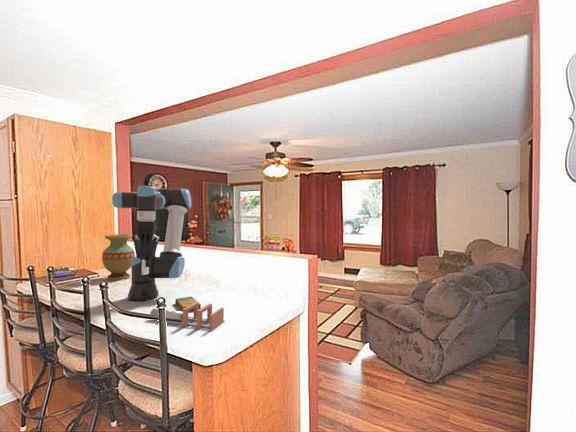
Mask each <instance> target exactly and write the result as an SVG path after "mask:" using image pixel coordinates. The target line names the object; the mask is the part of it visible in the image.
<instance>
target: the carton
mask: <svg viewBox="0 0 576 432" xmlns="http://www.w3.org/2000/svg"><path fill="white" fill-rule="evenodd" d="M195 302H198V301H197V300H196V299H195V298H194V297H193V296H185V297H179V298H175V305H176V307H178V309H179V310H180V312H183V309H184V308H186V307H188V306H189V305H191V304H193V303H195ZM198 303H199V302H198ZM201 305H202V304H201V303H199V309H201V308H202V306H201ZM191 312H193V313H194V308H193V309H191V310H189V311H188V313H191Z"/></svg>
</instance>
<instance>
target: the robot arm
mask: <svg viewBox="0 0 576 432" xmlns="http://www.w3.org/2000/svg"><path fill="white" fill-rule="evenodd" d="M111 201H112V205H113V207H114V208H116V209H136V220H137V222H136V230H137V232H136V234H135V235H134V236H133V235H132V238H131V239H132V241H133V245H134V252H135V257H134V258H133V259H132V265H131V285H130V287H129V291H128V293H127V300H128V301H132V302H143V301H150V300H151V301H152V300H154V299H156V298H158V297H159V290H158V288H157V284H156V279H170V280H172V279H178V278H180V277H181V276H182V274H183V272H184V269H185V262H186V261H185V257H184V256H183V254H182V252H181V246H182V245H181V242H182V234H183V227H184V219H185V214H187V212H188V209H191V208H192V196H191V192H190V190H189V189H188V188H165V187H163V188H156V187H155V186H151V185H139V186H138V187H137V191H130V192H129V191H126V192H125V191H123V192H122V191H119V192H118V191H117V192H116V191H115V192H114V193H113V194H112V197H111ZM162 208H163V209H166V210H167V211H168V218H167V225H166V231H165V232H166V233H165V239H164V245H163V250H162V251H161V252H160V253H159V256H156V252H157V247H158V243H159V241H160V240H161V237H160V236H157V235H156V232H155V229H156V222H155V220H156V210H158V209H162Z"/></svg>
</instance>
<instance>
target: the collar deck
mask: <svg viewBox="0 0 576 432" xmlns="http://www.w3.org/2000/svg"><path fill="white" fill-rule="evenodd" d="M193 308H194V311H193V316H189V312H188V311H189V310H191V309H193ZM224 308H225V307H219V309H217V310H215V311H214V312H213V303H207V304H206V305H204V306H203V307H202V306H201V309H199V302H198V301H197V302H195V303H193V304H191V305H189V306H188V307H186V308H184V309H183V322H177V321H168V320H166V322H167V326H166V327H169V328H179V329H186V330H187V329H188V330H193V331H194V330H195V331H203V332H211V333H212V332H213V331H215V330H216V329H218V328H219V327H220V326H221V325H223V324H224V323H225V322H226V320H225V319H224V318H225V317H224V313H225V312H224V311H225V310H224ZM206 311H207V312H206ZM205 312H206V313H207V314H206V318H203V313H205ZM158 323H159V322H157V323H155V324H154V325H155V326H159V325H158Z"/></svg>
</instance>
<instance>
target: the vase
mask: <svg viewBox="0 0 576 432" xmlns="http://www.w3.org/2000/svg"><path fill="white" fill-rule="evenodd" d="M132 237H133V235H132V234H126V233H123V234H121V233H120V234H119V233H118V234H105V237H104V239H107V240H108V241H110V244H109V245H108V247H106V248H105V249H103V251H102V256H101V260H102V264H103V266H104V268H105V269H106V270H107V271H109V273H110V274H108V276H106V277H107V279H108V280H107V281H111V280H117V281H123V280H122V279H125V280H128V279H130V278H131V274H129V273H127V272H128V270H130V269H131V268H132V266H131V265H132V259H133V258H134V257H136V251H135V249H134V248H132V247H131V246H130V245H129V244H128V240H130V239H132Z"/></svg>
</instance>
